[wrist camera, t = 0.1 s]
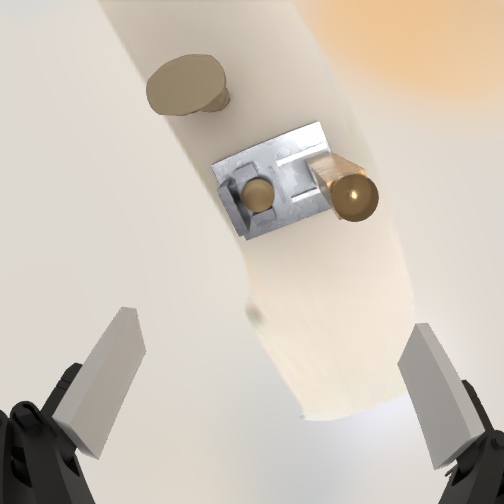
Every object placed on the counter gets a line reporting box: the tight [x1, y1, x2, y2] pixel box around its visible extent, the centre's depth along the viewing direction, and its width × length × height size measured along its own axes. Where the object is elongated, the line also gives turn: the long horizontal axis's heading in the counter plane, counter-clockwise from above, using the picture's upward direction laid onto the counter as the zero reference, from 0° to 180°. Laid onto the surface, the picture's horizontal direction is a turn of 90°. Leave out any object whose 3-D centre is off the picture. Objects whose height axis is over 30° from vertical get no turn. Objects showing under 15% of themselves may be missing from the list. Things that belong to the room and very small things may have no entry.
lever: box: [305, 152, 379, 222], centre depth 27 cm, size 4×4×15 cm
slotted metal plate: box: [211, 122, 331, 241], centre depth 34 cm, size 11×14×6 cm
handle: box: [146, 54, 230, 116], centre depth 26 cm, size 5×6×15 cm
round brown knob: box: [241, 179, 275, 212], centre depth 34 cm, size 4×4×4 cm
